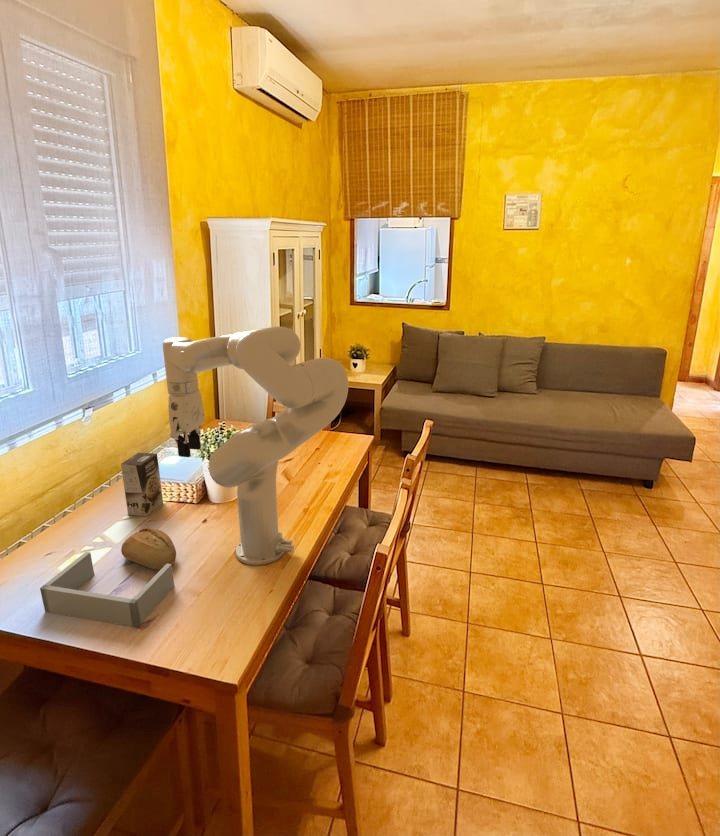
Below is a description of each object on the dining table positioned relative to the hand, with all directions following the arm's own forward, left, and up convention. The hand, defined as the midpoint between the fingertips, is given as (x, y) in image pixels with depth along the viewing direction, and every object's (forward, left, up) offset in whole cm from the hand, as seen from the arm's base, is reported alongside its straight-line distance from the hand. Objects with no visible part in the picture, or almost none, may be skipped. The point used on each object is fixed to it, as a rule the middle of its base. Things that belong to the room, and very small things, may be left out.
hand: (189, 452), depth 144 cm
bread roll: (+3, +18, -23) cm, 29 cm away
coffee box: (+20, -6, -23) cm, 31 cm away
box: (+3, +32, -22) cm, 40 cm away
